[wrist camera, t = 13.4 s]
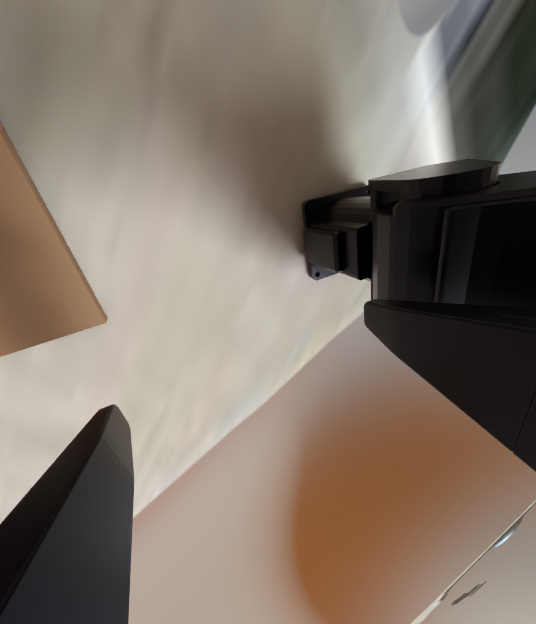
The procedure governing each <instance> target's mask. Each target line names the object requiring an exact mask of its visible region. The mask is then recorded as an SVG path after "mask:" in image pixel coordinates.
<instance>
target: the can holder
mask: <svg viewBox="0 0 536 624" xmlns="http://www.w3.org/2000/svg"><path fill="white" fill-rule="evenodd" d="M106 321H107V316H106V315H105V313H104V311H103V309H102V307H101V305H100V304H99V302H98V300H97V298H96V296H95V294H94V293H93V291H92V289H91V287H90V285H89V283H88V282H87V280H86V278H85V276H84V274H83V272H82V271H81V269H80V267H79V265H78V263H77V261H76V260H75V258H74V256H73V254H72V252H71V250H70V249H69V247H68V245H67V243H66V241H65V240H64V238H63V236H62V234H61V232H60V230H59V229H58V227H57V225H56V223H55V221H54V219H53V218H52V216H51V214H50V212H49V210H48V208H47V207H46V205H45V203H44V201H43V199H42V197H41V196H40V194H39V192H38V190H37V188H36V186H35V185H34V183H33V181H32V179H31V177H30V175H29V174H28V172H27V170H26V168H25V166H24V165H23V163H22V161H21V159H20V157H19V155H18V154H17V152H16V150H15V148H14V146H13V144H12V143H11V141H10V139H9V137H8V135H7V133H6V132H5V130H4V128H3V126H2V124H1V122H0V357H1V356H4V355H7V354H10V353H13V352H16V351H20V350H23V349H26V348H29V347H32V346H35V345H38V344H41V343H45V342H48V341H51V340H54V339H57V338H60V337H63V336H66V335H69V334H73V333H76V332H79V331H82V330H85V329H88V328H91V327H94V326H98V325H101V324H104V323H106Z"/></svg>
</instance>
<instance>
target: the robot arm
mask: <svg viewBox="0 0 536 624" xmlns="http://www.w3.org/2000/svg"><path fill="white" fill-rule="evenodd" d="M500 166H501V162H497V161H486V160H476V159H465V160H458V161H452V162H446V163H440V164H434V165H428V166H423V167H419V168H415V169H411V170H407V171H403V172H399V173H395V174H391V175H387V176H383V177H379V178H374V179H370V180H368V185H366V186H361V187H357V188H353V189H349V190H345V191H341V192H337V193H333V194H329V195H325V196H322V197H318V198H314V199H310V200H306V201H305V202H304V203H303V205H302V211H303V219H304V228H305V229H304V232H303V233H304V241H305V249H306V257H307V261H308V262H309V268H310V276H311V278H312V279H315V280H319V279H322V278H325V277H328V276H331V275H334V274H336V273H339V272H340V273H342V274H345V275H348V276H350V277H353V278H356V279H358V280H363V279H365V280H368V281H371V301H368V302H366V303H365V305H364V322H365V325H366V326H367V328H368V329H369V330H370V331H371V332H372V333H373V334H374V335H375V336H376V337H377V338H378V339H379V340H380V341H381V342H382V343H383V344H384V345H385V346H386V347H387V348H388V349H389V350H390V351H391V352H392V353H393V354H394V355H396V356H397V357H398V358H399V359H400V360H401V361H403V362H404V363H405V364H406V365H408V366H409V367H410V368H411V369H412V370H414V371H415V372H416V373H417V374H418V375H420V376H421V377H422V378H423V379H424V380H426V381H427V382H428V383H429V384H431V385H432V386H433V387H434V388H435V389H436V390H438V391H439V392H440V393H442V394H443V395H444V396H445V397H446V398H447V399H449V400H450V401H451V402H452V403H454V404H455V405H456V406H457V407H458V408H459V409H461V410H462V411H463V412H464V413H466V414H467V415H468V416H469V417H470V418H472V419H473V420H474V421H475V422H477V423H478V424H479V425H480V426H481V427H482V428H484V429H485V430H486V431H487V432H489V433H490V434H491V435H492V436H493V437H495V438H496V439H497V440H498V441H499V442H501V443H502V444H503V445H504V446H506V447H507V448H508V449H509V450H511V451H513V453H514V454H515V455H516V456H517V457H518V458H520V459H521V460H522V461H523V462H525V463H526V464H527V465H528V466H529V467H531V468H532V469H533V470H534V471H535V472H536V171H528V172H520V173H512V174H504V175H499V171H500ZM366 190H367V194H366ZM309 204H310V206H311V208H310V210H308V205H309ZM316 272H318V274H317V276H315V274H316ZM133 498H134V470H133V457H132V445H131V433H130V427H129V424H128V422H127V420H126V419H125V417H124V416H123V414H122V412H121V411H120V409H119V408H118V407H117V406H116V405H114V404H112V405H110V406H107V407H105V408H102V409H100V410H99V411H98V412H97V413H96V414H95V415H94V416H93V417H92V419H91V420H90V421H89V422H88V423H87V424H86V425H85V427H84V428H83V429H82V430H81V431H80V432H79V434H78V435H77V436H76V437H75V438H74V439H73V441H72V442H71V443H70V444H69V445H68V446H67V448H66V449H65V450H64V451H63V452H62V453H61V454H60V456H59V457H58V458H57V459H56V460H55V461H54V463H53V464H52V465H51V466H50V467H49V468H48V470H47V471H46V472H45V473H44V474H43V475H42V476H41V478H40V479H39V480H38V481H37V482H36V483H35V485H34V486H33V487H32V488H31V489H30V490H29V492H28V493H27V494H26V495H25V496H24V497H23V499H22V500H21V501H20V502H19V503H18V504H17V505H16V507H15V508H14V509H13V510H12V511H11V512H10V514H9V515H8V516H7V517H6V518H5V519H4V521H3V522H2V523H1V524H0V624H128V616H129V592H130V569H131V568H130V567H131V545H132V522H133V521H132V520H133Z"/></svg>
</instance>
